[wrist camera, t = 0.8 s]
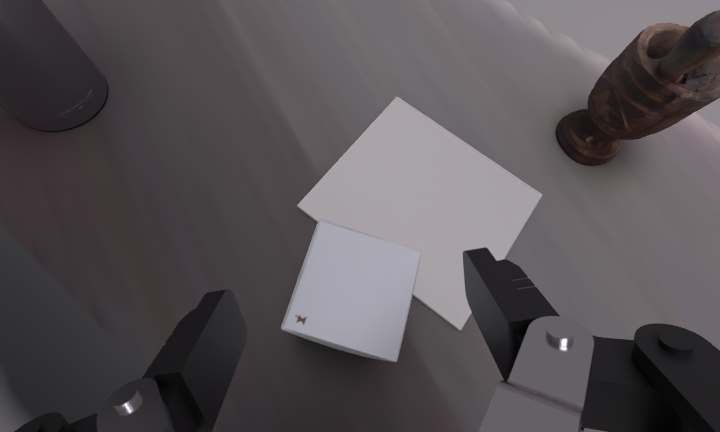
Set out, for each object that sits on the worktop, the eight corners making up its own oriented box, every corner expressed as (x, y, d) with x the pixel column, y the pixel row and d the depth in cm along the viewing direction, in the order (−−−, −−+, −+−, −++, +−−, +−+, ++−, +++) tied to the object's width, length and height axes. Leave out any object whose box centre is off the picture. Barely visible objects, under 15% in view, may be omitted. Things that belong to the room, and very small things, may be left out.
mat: (297, 207, 36) (296, 205, 36) (395, 99, 42) (396, 96, 42) (458, 330, 34) (460, 330, 33) (539, 196, 40) (542, 194, 39)
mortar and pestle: (595, 204, 40) (833, 81, 21) (528, 163, 41) (699, 12, 22) (625, 134, 44) (850, -22, 25) (563, 99, 45) (735, -76, 26)
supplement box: (370, 359, 32) (397, 369, 20) (293, 335, 32) (275, 329, 20) (391, 282, 35) (425, 250, 23) (319, 259, 35) (317, 216, 23)
